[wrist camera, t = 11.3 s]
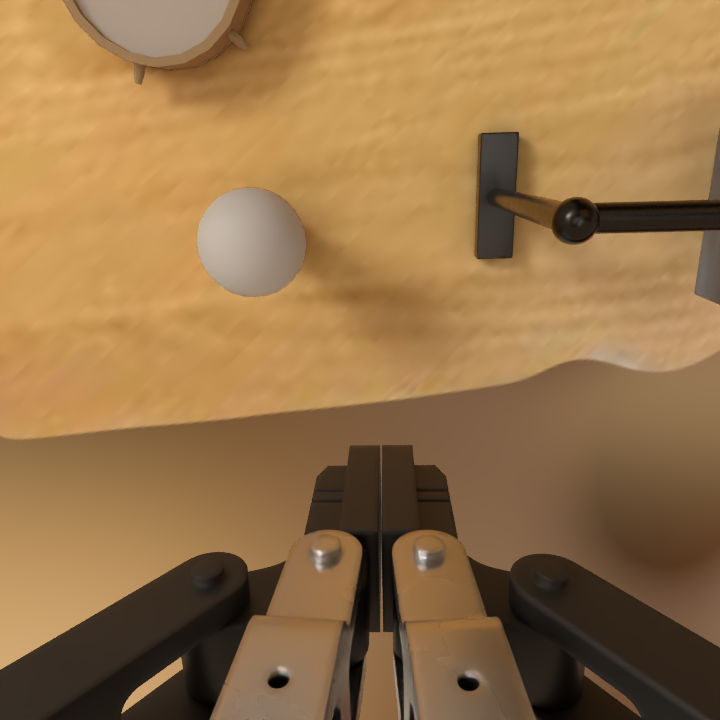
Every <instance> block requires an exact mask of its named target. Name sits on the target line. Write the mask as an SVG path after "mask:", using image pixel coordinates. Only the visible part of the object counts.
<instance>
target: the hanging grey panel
mask: <svg viewBox="0 0 720 720" xmlns="http://www.w3.org/2000/svg"><path fill="white" fill-rule="evenodd" d="M709 200H720V129H719V136H718V142H717V149H716V155H715V162H714V168H713V175H712V181H711V188H710V194H709ZM694 294H696V295H698V296H700V297H703V298H705V299H708V300H710V301H712V302H715V303H717V304H719V305H720V231H704V233H703V240H702V246H701V253H700V259H699V266H698V272H697V279H696V285H695V292H694Z"/></svg>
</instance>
